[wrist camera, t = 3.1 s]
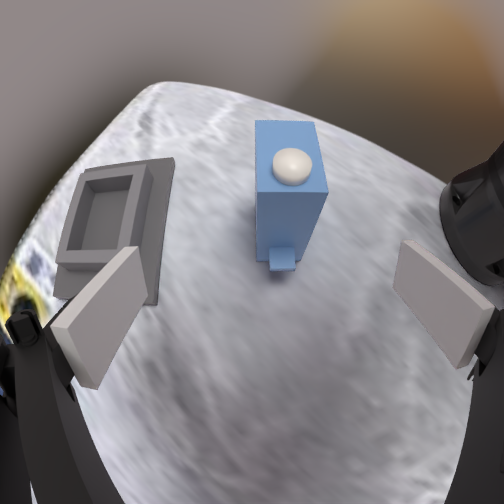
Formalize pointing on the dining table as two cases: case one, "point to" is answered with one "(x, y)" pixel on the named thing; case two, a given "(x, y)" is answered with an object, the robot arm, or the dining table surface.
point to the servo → (286, 190)
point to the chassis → (114, 223)
